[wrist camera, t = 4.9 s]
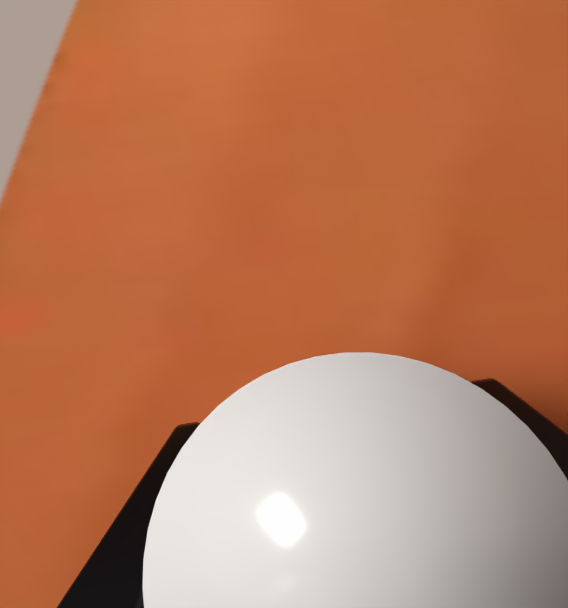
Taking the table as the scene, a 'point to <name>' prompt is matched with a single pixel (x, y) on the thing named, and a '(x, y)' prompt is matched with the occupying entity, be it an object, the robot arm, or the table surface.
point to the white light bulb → (360, 497)
